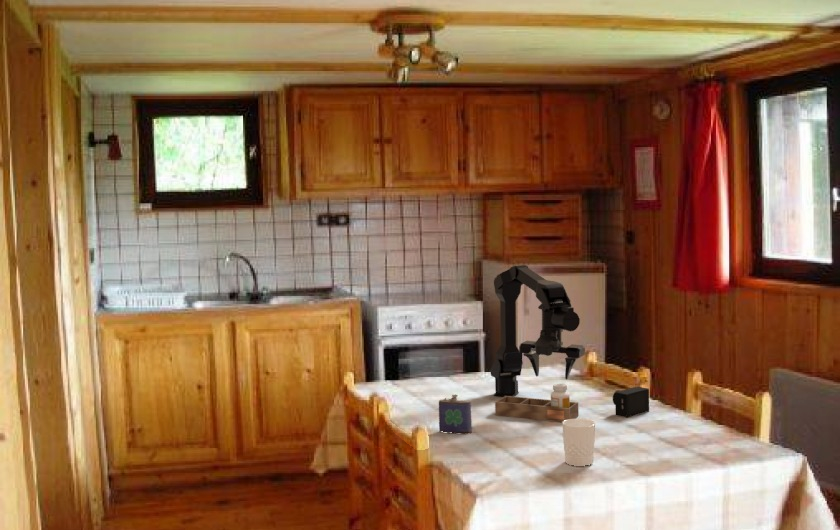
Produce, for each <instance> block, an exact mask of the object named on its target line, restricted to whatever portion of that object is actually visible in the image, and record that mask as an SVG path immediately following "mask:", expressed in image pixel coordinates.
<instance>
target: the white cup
mask: <svg viewBox="0 0 840 530" xmlns="http://www.w3.org/2000/svg"><path fill="white" fill-rule="evenodd" d="M561 423H562V426H561V427H562V439H563V440H562V441H563V451H564V461H565V463H567V464H566V465H568V464H569V465H568V466H571V465H575V466H574V467H576V466H584V465H589V464H592V463H593V464H594V458H595V457H594V454H595V441H596V422H595V421H594V420H591V419H587V418H575V419H568V420H565V421H563V422H561ZM593 464H592V465H593ZM589 466H590V465H589ZM584 467H585V466H584Z"/></svg>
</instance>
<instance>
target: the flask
mask: <svg viewBox="0 0 840 530" xmlns="http://www.w3.org/2000/svg"><path fill="white" fill-rule="evenodd" d="M457 397H458V394H452V395H451V398H447V397H445V398H444V399H440V400H438V427H439V428H438V429H439V432H440V431H443V432H452V433H451V434H456V433H467V434H468V433H470V434H472V430H473V429H472V401H471V400H469V399H467V400H461V399H460V400H458V398H457Z"/></svg>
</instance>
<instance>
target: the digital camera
mask: <svg viewBox="0 0 840 530" xmlns="http://www.w3.org/2000/svg"><path fill="white" fill-rule="evenodd" d="M612 402H613V404H614V406H615V416H619V417H621V418H622V417H623V418H626V419H627V418H631V417H633V416H634V417H635V416H637V415H642V414H644V413H648V412H650V388H647V387H642V386H634V387H633V386H632V387H630V388H627V389H623V390H619V389H618V390H615V391H614V392H613V395H612Z"/></svg>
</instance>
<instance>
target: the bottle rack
mask: <svg viewBox="0 0 840 530" xmlns="http://www.w3.org/2000/svg"><path fill="white" fill-rule="evenodd" d="M494 411H495V412H494V413H495V414H494V415H495V416H499V415H500V416H502V417H509V416H511V417H512V418H518V419H519V418H521V419H530V420H539V421H540V420H541V421H551V422H560V423H562V422H563V421H565V420H568V419H577V418H578V417H579V416H580V413H579V402H576V401H570V407H569V408H560V407H551V399H545V398H544V399H542V398H533V397H524V396H523V397H521V396H520V397H519V396H513V397H512V396H505V397H504V396H502V397H501V398H499V399H497V400H496V401H495V402H494ZM511 417H510V418H511Z"/></svg>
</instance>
